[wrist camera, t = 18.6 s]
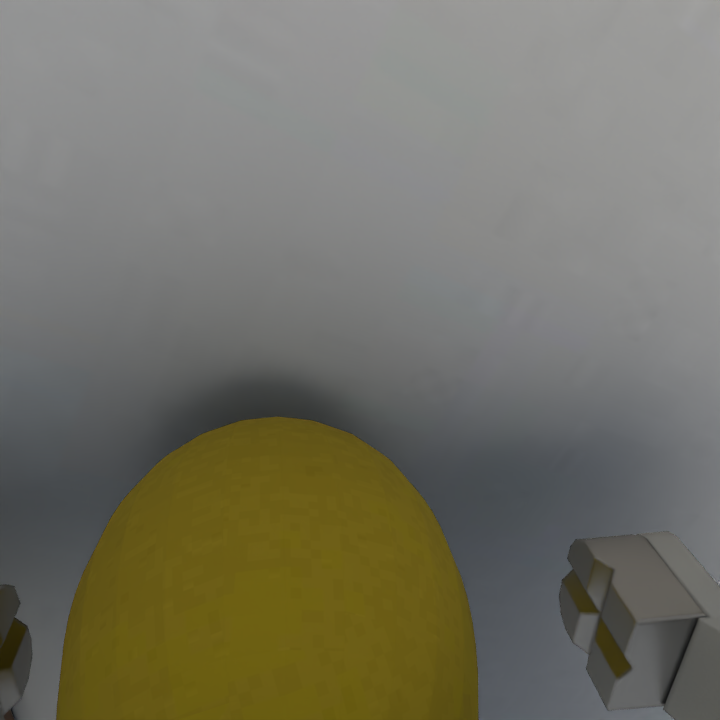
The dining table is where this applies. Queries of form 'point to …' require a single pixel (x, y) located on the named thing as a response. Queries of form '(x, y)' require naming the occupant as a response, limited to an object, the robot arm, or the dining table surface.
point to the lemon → (271, 590)
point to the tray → (8, 715)
